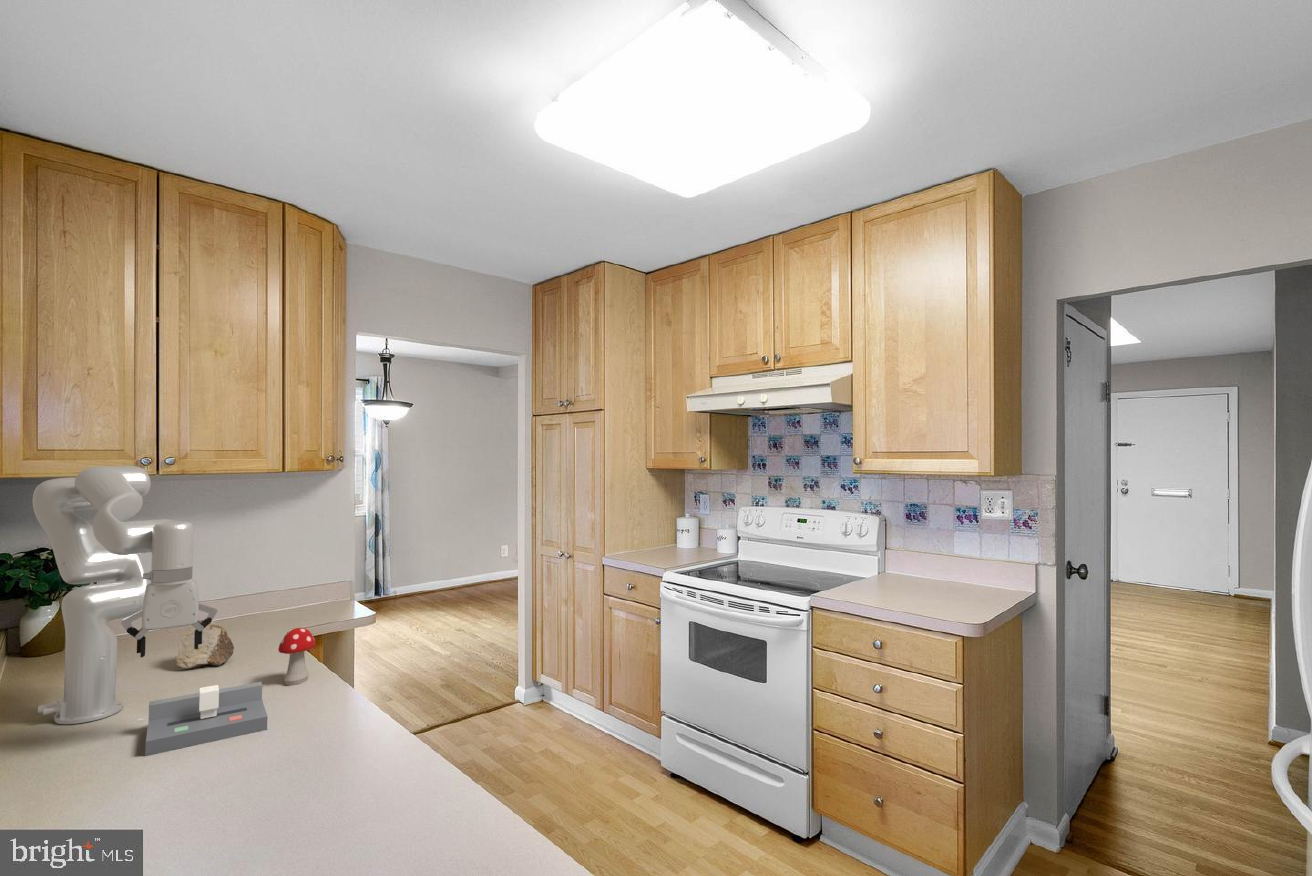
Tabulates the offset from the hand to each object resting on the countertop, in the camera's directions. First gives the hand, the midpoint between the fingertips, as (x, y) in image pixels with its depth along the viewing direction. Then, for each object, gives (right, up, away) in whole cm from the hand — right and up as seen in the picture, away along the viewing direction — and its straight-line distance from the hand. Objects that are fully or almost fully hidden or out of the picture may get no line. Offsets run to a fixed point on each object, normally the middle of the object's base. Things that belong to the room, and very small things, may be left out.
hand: (170, 651), depth 142 cm
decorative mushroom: (+9, -21, +35) cm, 41 cm away
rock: (-26, -21, +48) cm, 59 cm away
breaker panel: (+6, -19, +3) cm, 20 cm away
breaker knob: (+7, -16, +3) cm, 17 cm away
